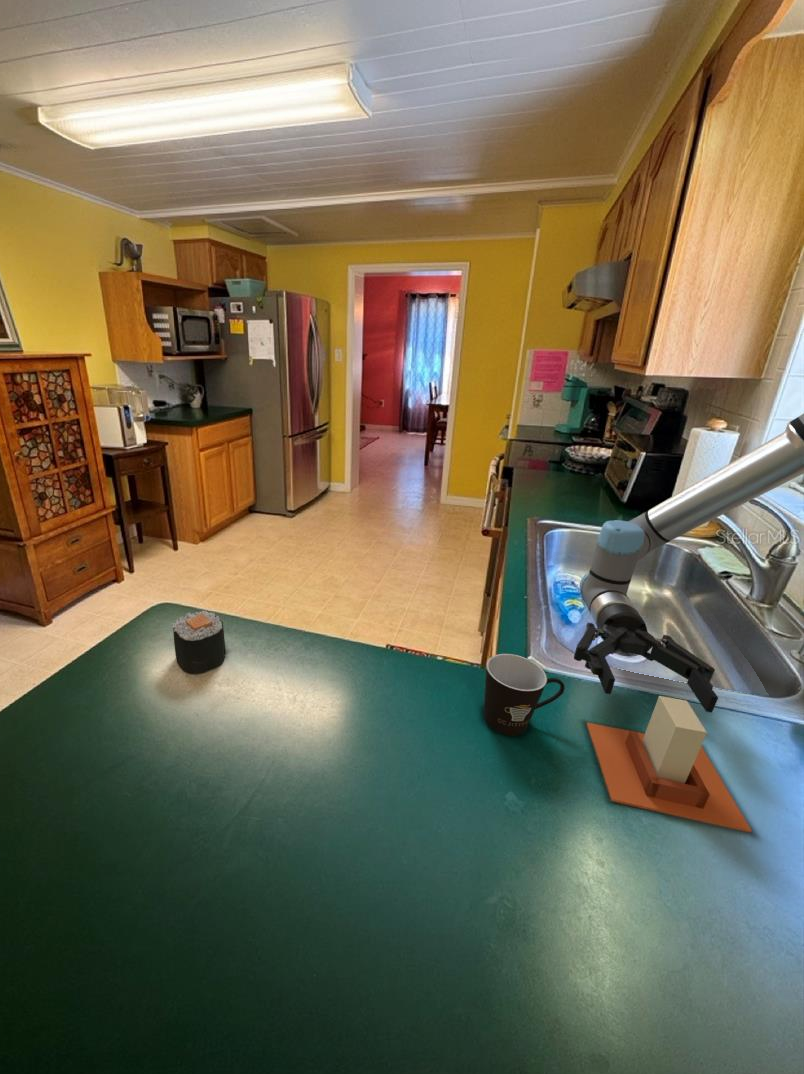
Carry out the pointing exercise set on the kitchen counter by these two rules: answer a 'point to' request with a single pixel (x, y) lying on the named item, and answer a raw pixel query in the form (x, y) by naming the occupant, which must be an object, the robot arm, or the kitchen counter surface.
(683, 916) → the kitchen counter surface
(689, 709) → the block
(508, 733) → the coffee mug
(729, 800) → the base pad
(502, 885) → the kitchen counter surface
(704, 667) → the robot arm
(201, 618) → the sushi
